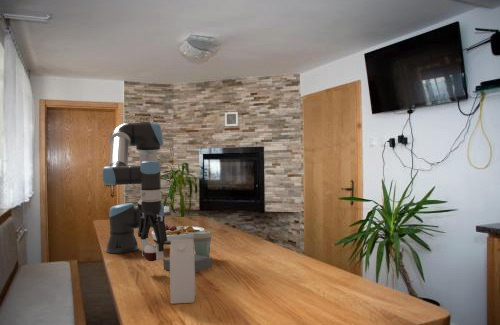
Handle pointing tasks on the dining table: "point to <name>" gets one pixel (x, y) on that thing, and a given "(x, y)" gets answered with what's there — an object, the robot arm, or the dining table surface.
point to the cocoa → (150, 252)
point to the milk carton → (182, 271)
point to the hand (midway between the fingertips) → (152, 257)
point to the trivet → (200, 263)
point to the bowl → (179, 232)
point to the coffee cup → (202, 242)
